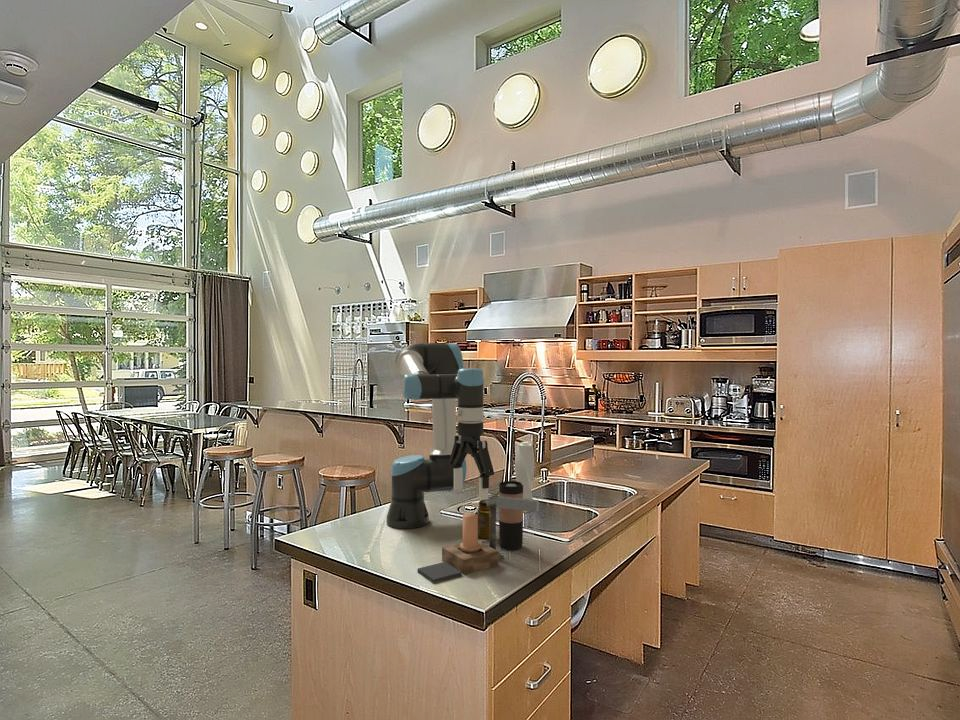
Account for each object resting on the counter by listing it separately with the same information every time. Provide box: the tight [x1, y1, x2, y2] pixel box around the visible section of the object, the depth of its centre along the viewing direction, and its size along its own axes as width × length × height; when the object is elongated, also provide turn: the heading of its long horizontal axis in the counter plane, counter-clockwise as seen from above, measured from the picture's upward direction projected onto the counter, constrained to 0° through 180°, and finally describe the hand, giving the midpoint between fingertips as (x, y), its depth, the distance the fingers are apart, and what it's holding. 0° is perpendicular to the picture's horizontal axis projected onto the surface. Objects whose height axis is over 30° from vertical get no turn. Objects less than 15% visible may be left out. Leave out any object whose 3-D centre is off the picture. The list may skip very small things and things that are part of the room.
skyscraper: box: [514, 438, 536, 515], centre depth 219 cm, size 8×8×28 cm
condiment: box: [477, 499, 499, 543], centre depth 189 cm, size 7×8×12 cm
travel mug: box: [498, 480, 524, 552], centre depth 181 cm, size 8×8×20 cm
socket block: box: [441, 507, 505, 575], centre depth 168 cm, size 12×16×15 cm
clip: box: [487, 494, 540, 513], centre depth 169 cm, size 4×16×3 cm, turn 68°
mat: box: [417, 561, 463, 584], centre depth 159 cm, size 9×9×1 cm
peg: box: [460, 512, 480, 554], centre depth 167 cm, size 6×6×14 cm
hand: (470, 494), depth 167 cm, fingers open, 13 cm apart
